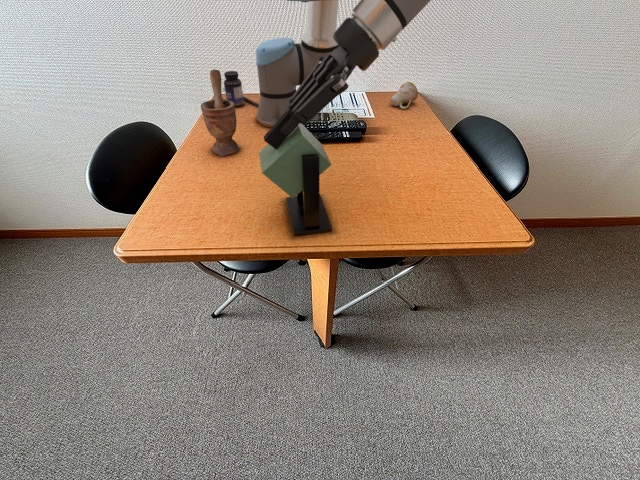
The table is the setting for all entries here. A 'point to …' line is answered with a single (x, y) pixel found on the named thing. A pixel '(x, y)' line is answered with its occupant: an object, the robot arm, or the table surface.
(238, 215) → the table surface
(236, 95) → the pill bottle
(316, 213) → the stand
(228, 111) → the mortar and pestle
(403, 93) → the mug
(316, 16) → the robot arm
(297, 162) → the green square planter
